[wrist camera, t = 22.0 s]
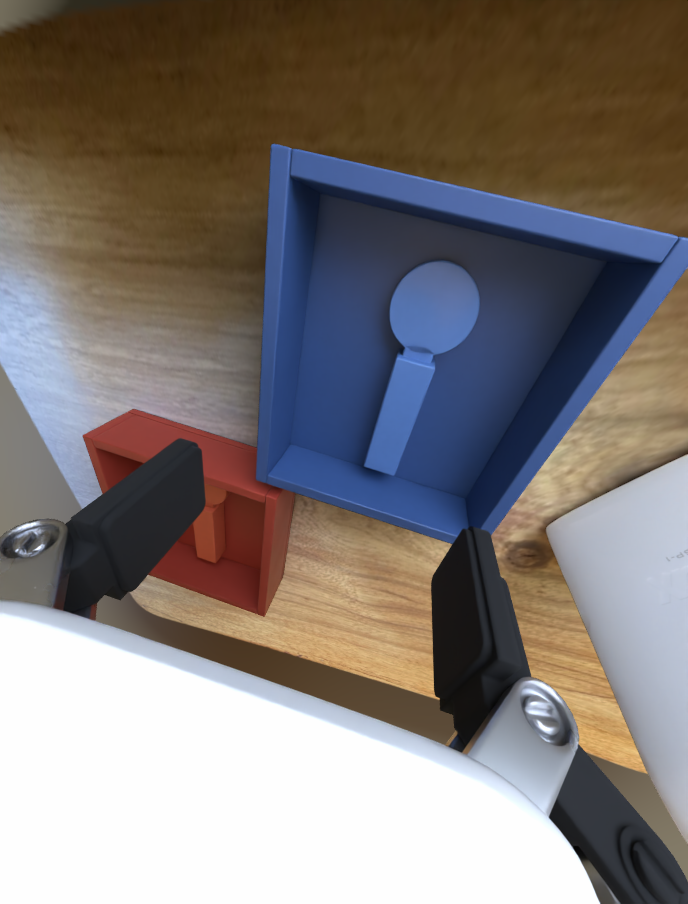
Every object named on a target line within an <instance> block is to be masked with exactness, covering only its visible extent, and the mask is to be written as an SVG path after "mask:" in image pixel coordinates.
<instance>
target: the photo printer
mask: <svg viewBox="0 0 688 904" xmlns="http://www.w3.org/2000/svg"><path fill="white" fill-rule="evenodd" d="M546 533H547V537H548V540H549V542H550V545H551V548H552V550H553V552H554V555H555V557H556V559H557V562H558V564H559V567H560V569H561V571H562V574H563V576H564V578H565V581H566V583H567V585H568V588H569V590H570V593H571V595H572V597H573V600H574V602H575V604H576V607H577V609H578V611H579V614H580V616H581V618H582V621H583V623H584V625H585V628H586V630H587V632H588V635H589V637H590V639H591V642H592V644H593V646H594V649H595V651H596V653H597V656H598V658H599V660H600V663H601V665H602V667H603V670H604V672H605V675H606V677H607V679H608V682H609V684H610V686H611V689H612V691H613V693H614V696H615V698H616V700H617V703H618V705H619V707H620V710H621V712H622V714H623V717H624V719H625V722H626V724H627V726H628V729H629V731H630V733H631V736H632V738H633V740H634V743H635V745H636V747H637V750H638V752H639V755H640V757H641V759H642V762H643V764H644V766H645V769H646V771H647V773H648V775H649V777H650V779H651V781H652V783H653V784H654V786H655V788H656V790H657V792H658V794H659V796H660V798H661V800H662V801H663V803H664V805H665V807H666V809H667V811H668V812H669V814H670V816H671V818H672V819H673V821H674V823H675V824H676V826H677V828H678V830H679V832H680V834H681V835H682V837H683V838H684V839H685V841H686V843H687V844H688V454H687V455H685V456H683V457H680V458H678V459H676V460H674V461H672V462H670V463H668V464H665V465H663V466H661V467H659V468H657V469H655V470H653V471H651V472H649V473H647V474H645V475H643V476H641V477H638V478H636V479H634V480H632V481H630V482H628V483H626V484H624V485H622V486H620V487H618V488H616V489H614V490H612V491H610V492H608V493H606V494H604V495H602V496H600V497H598V498H596V499H594V500H592V501H590V502H588V503H586V504H584V505H582V506H580V507H578V508H576V509H575V510H573V511H571V512H569V513H567V514H565V515H563V516H562V517H560V518H558V519H557V520H555V521H554V522H552V523H551V524H549V525H548V526H547V528H546Z"/></svg>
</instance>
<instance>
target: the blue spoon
mask: <svg viewBox="0 0 688 904" xmlns="http://www.w3.org/2000/svg"><path fill="white" fill-rule="evenodd" d="M479 307H480V297H479V291H478V288H477V285H476V283H475V281H474V279H473V278H472V276H471V275H470V274H469V273H468V272H467V271H466V270H465V269H464V268H462V267H461V266H459V265H457V264H455V263H453V262H450V261H445V260H434V261H429V262H425V263H423V264H420V265H418V266H417V267H415V268H414V269H412V270H411V271H410V272H408V273H407V274H406V275H405V276H404V277H403V278H402V280H401V281H400V282H399V284H398V285H397V287H396V288H395V290H394V293H393V295H392V298H391V301H390V306H389V321H390V326H391V329H392V332H393V334H394V336H395V337H396V339H397V340H398V341H399V343H400V344H401V345H402V346H403V347H404V350H403V349H399V350H398V353H397V356H396V359H395V362H394V365H393V369H392V372H391V375H390V379H389V382H388V385H387V389H386V392H385V395H384V399H383V402H382V405H381V409H380V412H379V415H378V419H377V422H376V425H375V429H374V432H373V435H372V439H371V442H370V445H369V449H368V452H367V455H366V459H365V462H364V467H367V468H370V469H373V470H376V471H380V472H383V473H386V474H389V475H392V476H394V475H395V473H396V470H397V467H398V465H399V462H400V460H401V457H402V454H403V452H404V449H405V447H406V444H407V441H408V439H409V436H410V434H411V431H412V428H413V426H414V423H415V421H416V418H417V415H418V413H419V410H420V408H421V405H422V402H423V400H424V397H425V395H426V392H427V389H428V387H429V384H430V382H431V379H432V376H433V374H434V371H435V359H434V358H433V356H434V355H439V354H442V353H446V352H448V351H450V350H452V349H453V348H455V347H457V346H458V345H459V344H460V343H462V342H463V341H464V340H465V339H466V337H467V336H468V335H469V334H470V332H471V331H472V329H473V327H474V325H475V323H476V320H477V317H478V313H479Z"/></svg>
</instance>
